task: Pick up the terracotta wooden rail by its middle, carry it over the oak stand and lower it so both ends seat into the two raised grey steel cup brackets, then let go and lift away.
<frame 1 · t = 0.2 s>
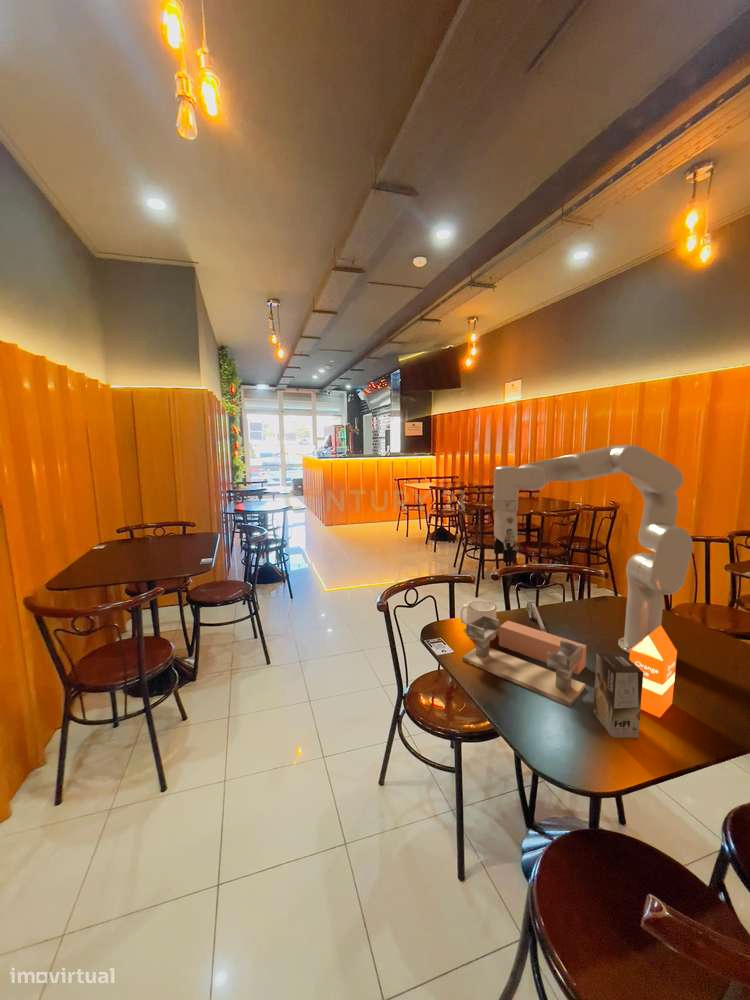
hand: (503, 557, 129), 30 cm above the table, tool pointing down, fingers open, 9 cm apart
coffee box: (614, 725, 96), on the table
mug: (478, 633, 143), on the table
cup stand: (519, 673, 118), on the table
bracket: (538, 629, 146), on the table
rail: (539, 656, 127), on the table
orange juice: (648, 703, 104), on the table
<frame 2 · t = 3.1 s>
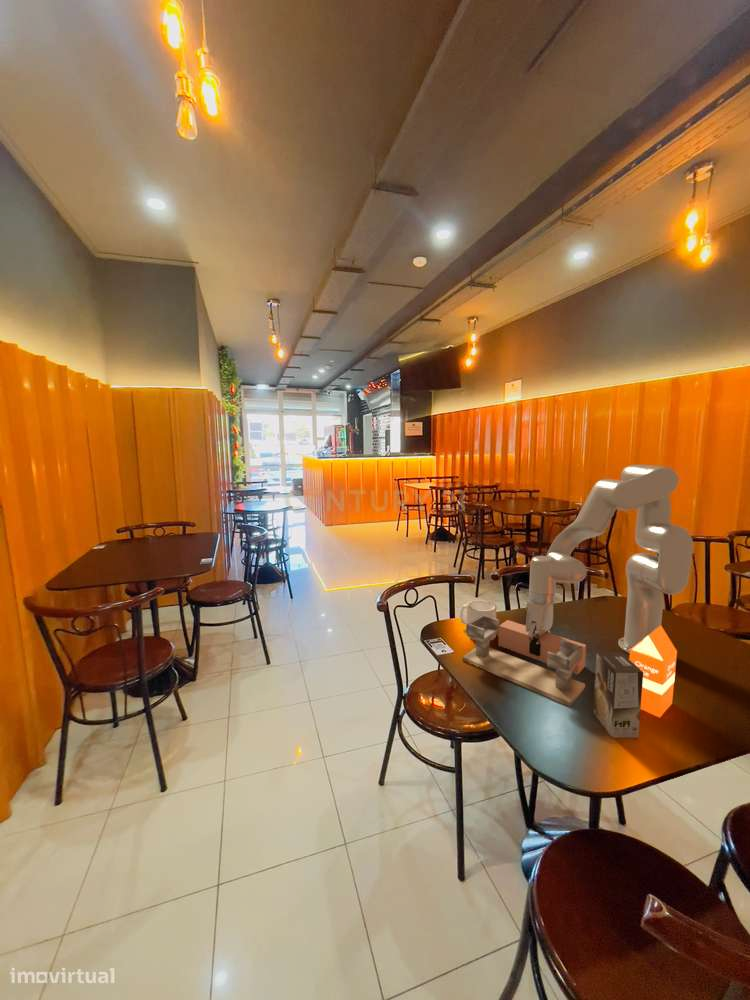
hand: (539, 650, 127), 2 cm above the table, tool pointing down, fingers closed on rail, 6 cm apart
rail: (539, 655, 127), on the table, touching gripper
everything else where it was.
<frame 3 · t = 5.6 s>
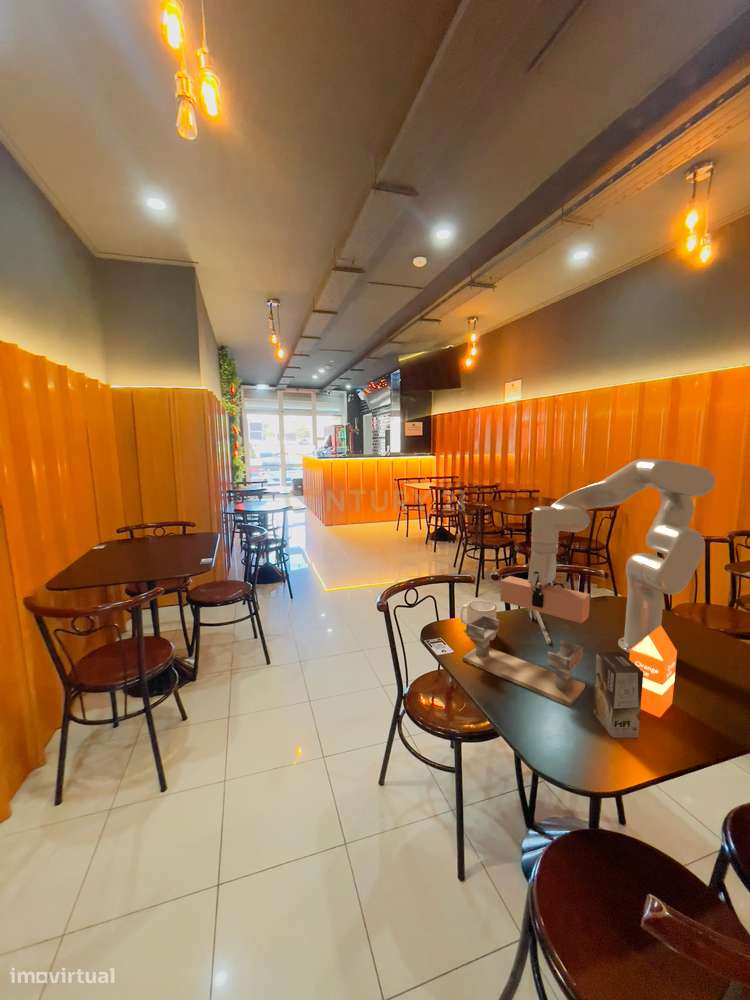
hand: (542, 602, 125), 17 cm above the table, tool pointing down, fingers closed on rail, 6 cm apart
rail: (542, 608, 125), point 16 cm above the table, touching gripper
everything else where it was.
when the fingers open (11 cm above the table, at t = 8.2 s): rail stays where it is, resting on cup stand.
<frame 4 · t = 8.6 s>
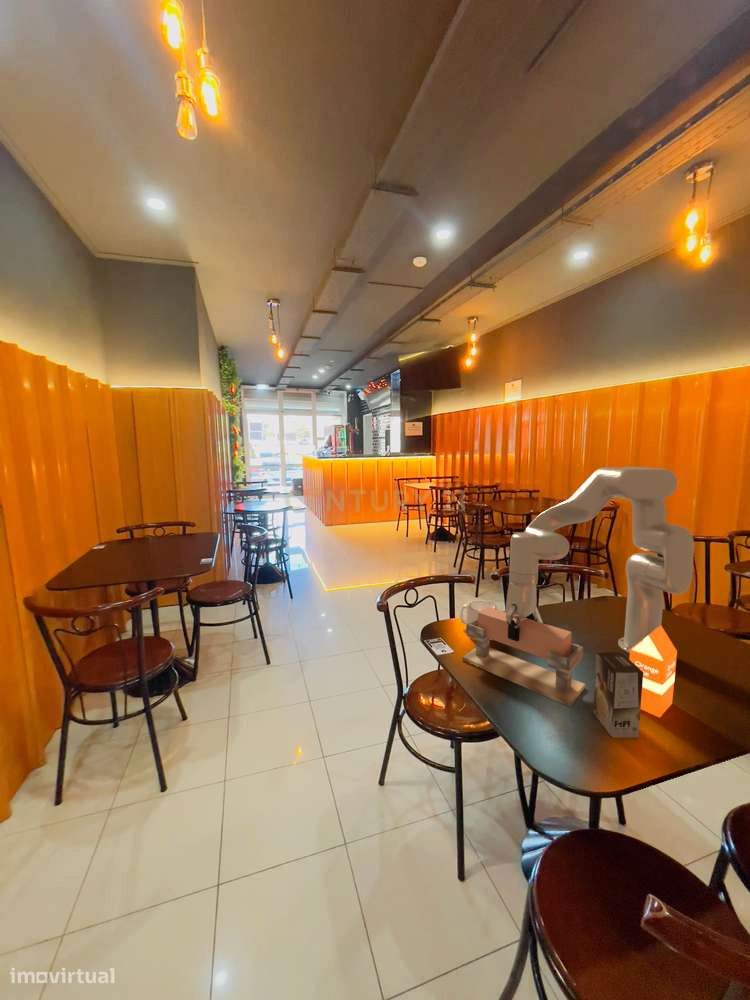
hand: (521, 633, 116), 12 cm above the table, tool pointing down, fingers open, 9 cm apart
rail: (521, 644, 116), point 9 cm above the table, touching cup stand
everything else where it was.
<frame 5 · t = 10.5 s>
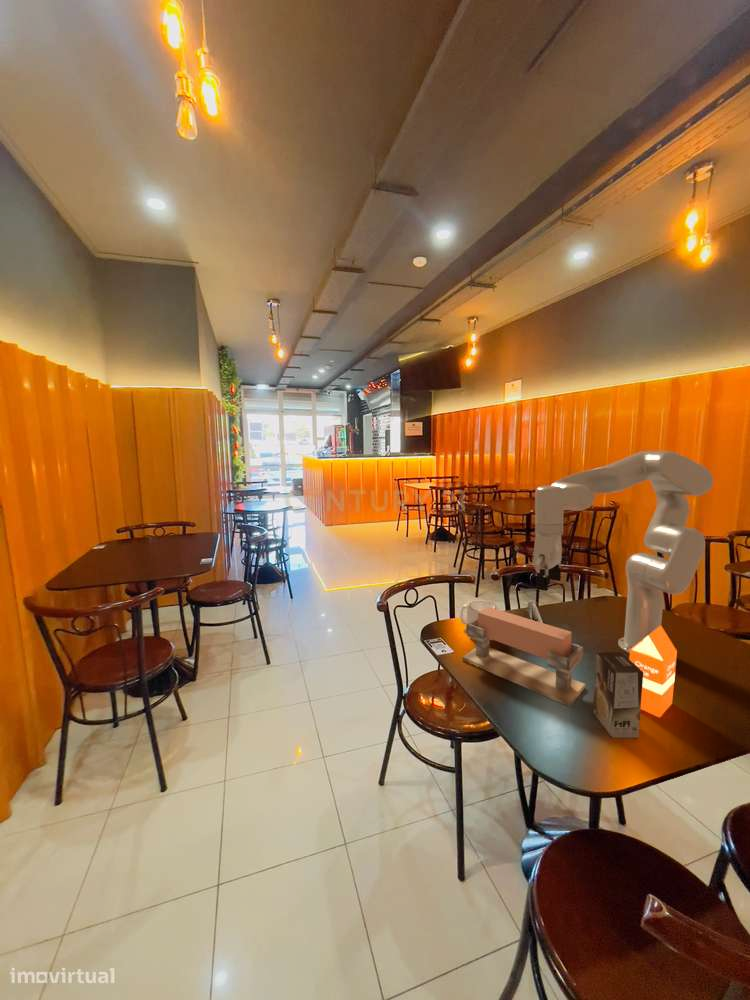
hand: (548, 584, 119), 25 cm above the table, tool pointing down, fingers open, 9 cm apart
nothing on the table moved.
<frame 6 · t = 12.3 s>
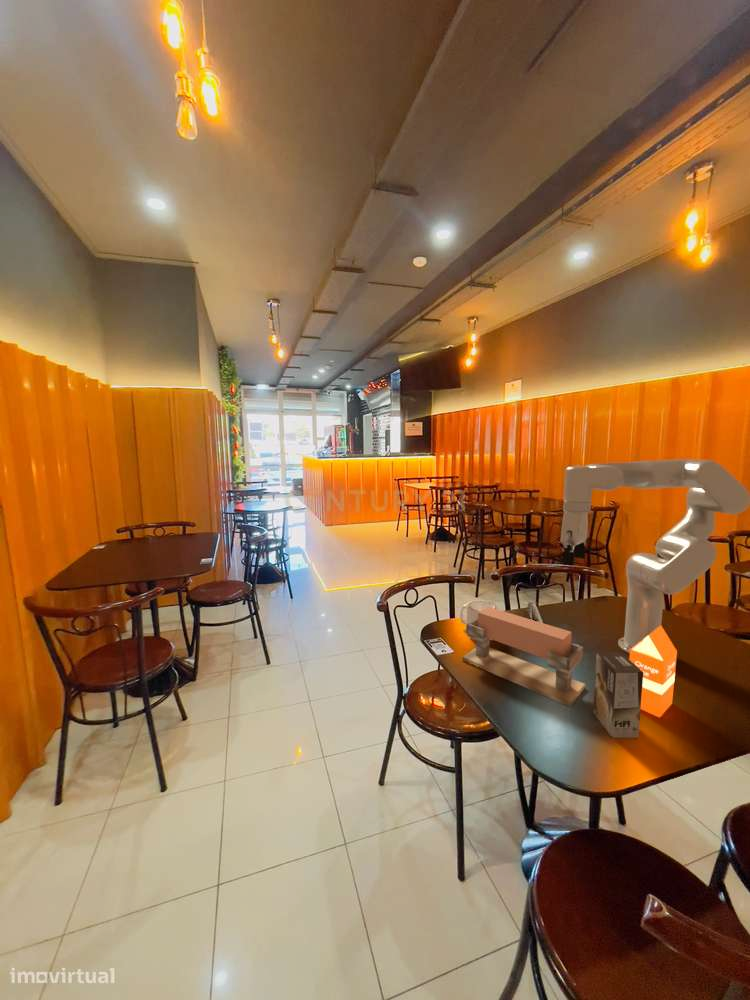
hand: (573, 561, 125), 30 cm above the table, tool pointing down, fingers open, 9 cm apart
nothing on the table moved.
at the end: rail 0.1 cm off-centre on the cup stand, point 9.0 cm above the cup stand's base; rail tilted 0°; the gripper is holding nothing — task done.
